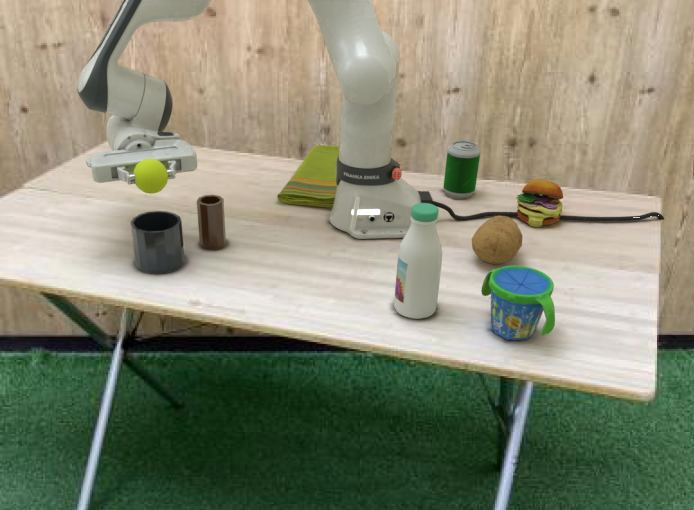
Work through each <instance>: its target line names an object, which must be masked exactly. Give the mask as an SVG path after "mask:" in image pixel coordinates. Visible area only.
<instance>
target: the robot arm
mask: <svg viewBox="0 0 694 510" xmlns="http://www.w3.org/2000/svg"><path fill="white" fill-rule="evenodd" d="M211 2H212V0H122V2H121V4H120V5H119V7H118V9H117V11H116V13H115V14H114V16H113V18H112V20H111V22H110V23H109V25H108V28H107V29H106V31H105V33H104V35H103V37H102V38H101V40H100V42H99V44H98V45H97V47H96V49H95V51H94V52H93V54H92V55H91V57H90V58H89V60H88V61H87V62H86V64H85V66H84V67H83V68H82V70H81V72H80V75H79V77H78V81H77V89H76V91H77V94H78V96H79V98H80V100H81V101H82V102H83V104H84V105H85V107H86V108H87V109H88V110H91V111H93V112H94V111H95V112H99V113H103V114H106V113H107V114H109V115H111V116H109V118H108V120H107V123H106V128H105V134H106V140H107V143H108V146H109V148H110V150H105V151H98V152H95V153H93V154H91V156H90V158H86V160H85V164H86V166H87V167H88V168H90V170H91V175H92V180H93V182H95V183H99V184H103V183H110V182H119V181H121V182H124V183H126V184H127V185H134V184H135V183H136V182H135V175H134V169H135V167H136V165H137V164H138V163H139V162H141V161H142V160H145V159H155V160H158V161H159V162H161V163H162V164H163V165H164V166H165V168H166V170H167V173H168V180H174V179H176V174H180V173H188V172H194V171H196V170H197V169H198V155H197V152H196V150H195V149H194V148H193V147H192V146H191V144H190V143H189V142H188V141H186V140H184V139H181V136H180V134H179V133H178V132H172V131H165V129H166V127H167V126H168V124H169V122H170V120H171V117H172V112H173V105H174V104H173V103H174V101H173V96H172V93H171V90H170V88H169V85H168V84H167V82H166V81H165V80H162V79H160V78H158V77H154V76H152V75H149V74H147V73H144V72H139V71H137V70H134V69H131V68H128V67H126V66H123V65H120V64H119V63H118V62H119V60H120V59H121V57H122V55H123V53H124V52H125V50H126V48H127V46H128V44H129V43H130V41H131V39H132V38H133V36H134V34H135V33H136V31H137V30H138V29H139V28H140V27H142V26H144V25H147V24H151V23H159V22H171V23H172V22H173V23H178V22H179V23H180V22H186V21H190V20H194V19H196V18H197V17H200V16H201V15H203V13H205V12H206V11H207V9H208V7H209V6H210V4H211ZM307 2H308V4H309V6H310V8H311V10H312V13H313V14H314V17H315V19H316V21H317V24H318V26H319V28H320V29H319V30H320V32H321V34H322V38H323V41H324V43H325V47H326V50H327V53H328V56H329V60H330V62H331V64H332V68H333V70H334V72H335V75H336V78H337V81H338V86H339V89H340V91H341V93H342V103H341V111H340V120H339V141H338V146H339V156H338V158H337V162H336V184H337V188H336V194H335V200H334V204H333V208H331V211H330V213H329V217H328V221H329V223H330V224H331V225H332V226H333V227H334V228H337V229H338V230H340V231H343V232H345V233H348V235H350V236H351V237H352V238H355V239H356V240H357V239H358V240H362V239H363V240H365V239H366V240H367V239H370V240H371V239H404V237H405V235H406V234H407V232H408V230H409V228H410V225H411V222H412V221H411V219H410V218H411V208H412V206H413V205H415V204H418V203H429V204H433V205H435V206H436V207H437V208H440V209H442V210H445V211H447V213H448V214H449V216H450V217H451V218H452V219H454V220H455V221H456V220H457V221H472V220H478V219H481V218H487V217H495V216H498V215H499V216H507V217H509V218H511V217H514V218H519V217H518V213H517V211H484V212H478V213H475V214H470V215H465V216H464V215H458V214H456V213H455V211H454V210H453V209H452V208H451V207H450V206H449V205H446V204H444V203H442V202H439V201H435V200H433V197H432V195H431V193H430V191H429V190H418V189H416V188H415V187H414V186H413V185H411V184H410V183H408V181H406V180H404V178H403V177H402V173H403V171H402V169H401V164H400V162H399V161H400V160H399V159H398V158H396V160H395V159H394V158H393V157H392V149H393V136H394V135H393V134H394V122H395V113H396V103H397V94H398V82H399V74H400V64H401V63H400V62H401V53H400V49H399V46H398V43H397V42H396V40H395V39H394V38H393V36H392V35H391V34H389V32H387V31H385V30H382V29H381V25H380V23H379V20H378V17H377V14H376V11H375V7H374V3H373V1H372V0H307ZM135 185H136V184H135ZM658 215H659V216H658ZM650 216H652V217H650ZM633 217H640V218H633ZM653 217H655V218H657V219H658V220H662V221H664V220H665V217H664V215H662V213H660V212H657V211H651V212H647V213H645V214H641V215H629V216H583V215H567V214H566V215H564V214H560V218H559V221H578V222H632V221H643V220H645V219H650V218H653Z"/></svg>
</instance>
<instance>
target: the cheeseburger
mask: <svg viewBox="0 0 694 510" xmlns="http://www.w3.org/2000/svg"><path fill="white" fill-rule="evenodd" d="M515 198H516V199H517V200H516V202H517V207H516V208H517V210H516V212H517V213H518V217H517V218H519V219H520V220H521V221H523V222H525V223H527V224H528V225H529V226H530V227H533V228H540V227H542V226H549V225H552V224H555V223H557V222H559V221H560V220H559V218H560V215H562V214H563V203H562V201H561V200H562V199H564V193H563V190H562V188H561V186H560V185H559V184H558V183H556V182H554V181H550V180H548V179H540V178H535V179H534V178H533V179H531V180H530V181H528V182H527V183H526V184H525V185H524V186H523V188H522V190H521V193H520V194H517V195H516V197H515Z"/></svg>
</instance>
